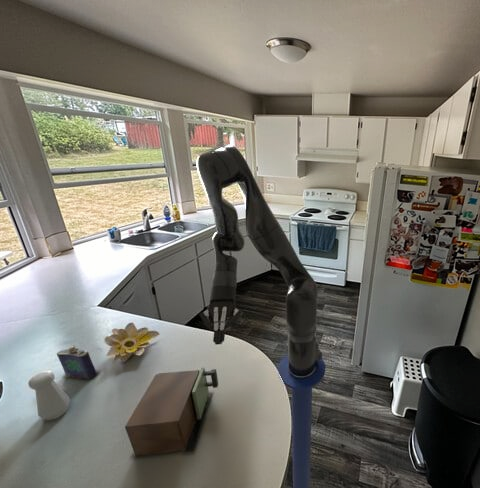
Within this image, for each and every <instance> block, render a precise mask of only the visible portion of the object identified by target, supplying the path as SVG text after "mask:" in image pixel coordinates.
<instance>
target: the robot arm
mask: <svg viewBox="0 0 480 488" xmlns="http://www.w3.org/2000/svg"><path fill="white" fill-rule="evenodd" d="M196 168H197V173H198V176H199V179H200V181H201V184H202V187H203V190H204V193H205V195H206V197H207V200H208V202H209V206H210V208H211V209H212V214H213V219H214V225H215V231H216V232H215V233H214V234H213V236H212V238H211V240H212V241H211V242H212V246H213V250H214V258H215V260H214V261H215V263H214V272H213V276H212V281H211V289H210V297H209V303H208V305H207V308H206V310H204V311H203V312H202V311H201V312H200V313H199V314H198V315H199V317H200V318H201V321H203V323H204V325H206V327H207V328H208V329H209V330H212V331H213V339H212V342H213V343H214V345H222V344H223V343H224V342H225V337H226V336H225V335H226V331H227V330H229V329H232V328H233V327H234V325H235V324H236V323H237V322H238V321H239V320H240V318H241V317H242V316H243V312H242V310H239V309H238V308H237V304H236V297H237V296H236V295H237V287H238V278H237V277H238V276H237V273H238V259H237V258H236V256H232V255H230V254H226V253H224V252H233V253H236V252H238V253H239V252H241V251H242V250H243V249H244V247H245V236H244V234H243V232H242V230H241V228H240V226H239V214H238V211H237V208H236V207H235V206H234V205H233V204H232V203H231V202H230V201H228V200H227V199H226V198H225V197H224V196H223V189H226V188H228V187H230V186H232V185H234V184H237V186H238V188H239V189H240V192H241V195H242V197H243V200H244V206H245V208H244V209H245V230H246V234H247V237H248V239H249V240H250V242H251V244H252V245H253V246H254V248H255V250H256V252H258V254H259V255H260V256H261V257H262V258H263V259H264V260H265V261H267V262H268V263H269V264H271V265H272V266H273V267H275V268H276V269H277V270H278V271H279V273H280V274H281V275H282V277H283V279H284V281H285V283H286V285H287V287H288V289H287V294H286V296H285V319H286V325H287V354H288V362H289V364H288V370H289V372H290V374H291V375H292V376H294V377H296V378H307V377H309V376H311V375H312V374H313V373H314V371H315V369H316V367H318V361H319V360H321V359H323V352H322V351H321V350H320V349H319V344H318V342H317V327H318V326H317V325H318V319H317V314H318V313H317V312H318V311H317V310H318V295H319V288H318V284H317V283H316V281H315V279H314V278H313V276H311V274H310V273H309V272H308V270H307V268H305V266H304V264H303V263H302V262H301V260H300V259H299V256H298V254H297V253H296V250H295V249H294V247H293V245H292V244H291V242H290V240H289V238H288V236H287V235H286V233H285V231H284V229H283V227H282V226H281V224H280V222H279V221H278V220H277V218H276V216H275V214H274V212H273V211H272V210H271V207H270V206H269V204H268V203H267V200H266V199H265V197H264V195H263V192H262V191H261V189H260V187H259V185H258V183H257V180H256V178H255V177H254V174H253V172H252V171H251V168H250V166H249V164H248V162H247V160H246V158H245V157H244V155H243V154H242V152H241V151H240V149H238V148H237V147H236V146H234V145H232V144H226V145H223V146H220V147H217V148H214V149H211V150H209V151H207V152H204V153H202V154H200V155H199V156H198V157H197V158H196ZM232 315H233V316H232ZM210 316H211V317H212V319H213V323H212V321H211V319H210V318H209V317H210ZM231 316H232V318H231ZM230 318H231V319H230ZM229 319H230V320H229Z"/></svg>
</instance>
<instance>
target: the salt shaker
mask: <svg viewBox="0 0 480 488" xmlns="http://www.w3.org/2000/svg"><path fill="white" fill-rule="evenodd" d="M27 383H28V387H29V389H32V390H33V391H34V392H35V399H36V407H37V408H36V409H37V415H38V417H40V418H41V419H43V420H47V421H51V420H55V419H59V418H60V417H61V416H63V415H64V414H66V413H67V411H68V408H69V405H70V402H71V401H70V400H71V399H70V396H69V395H68V394H67V393H66V392H65V391H64V390H63V389H62V387H60V386H59V385H58V383H57V382H56V381H55V372H54V371H52V370H43V371H39V372H38V373H36V374H34V375H33V376H32V377H31V378H30V379H29V380H28V382H27Z"/></svg>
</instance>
